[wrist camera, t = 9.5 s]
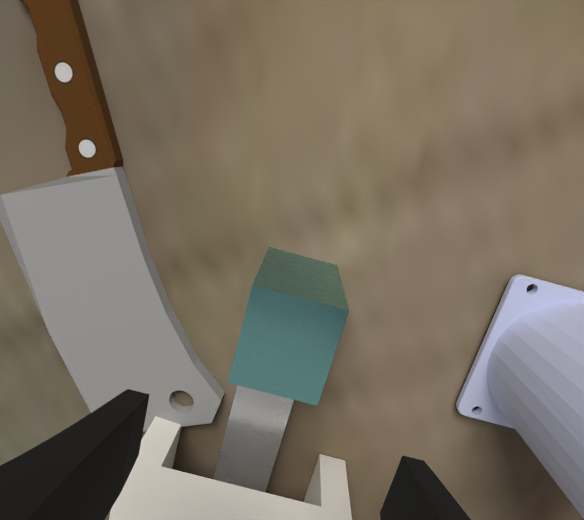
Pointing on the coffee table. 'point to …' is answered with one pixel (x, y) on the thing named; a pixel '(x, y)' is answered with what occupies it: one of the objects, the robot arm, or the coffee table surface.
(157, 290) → the kitchen cleaver
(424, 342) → the coffee table surface
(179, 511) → the cream shelf
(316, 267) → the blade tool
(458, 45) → the coffee table surface
